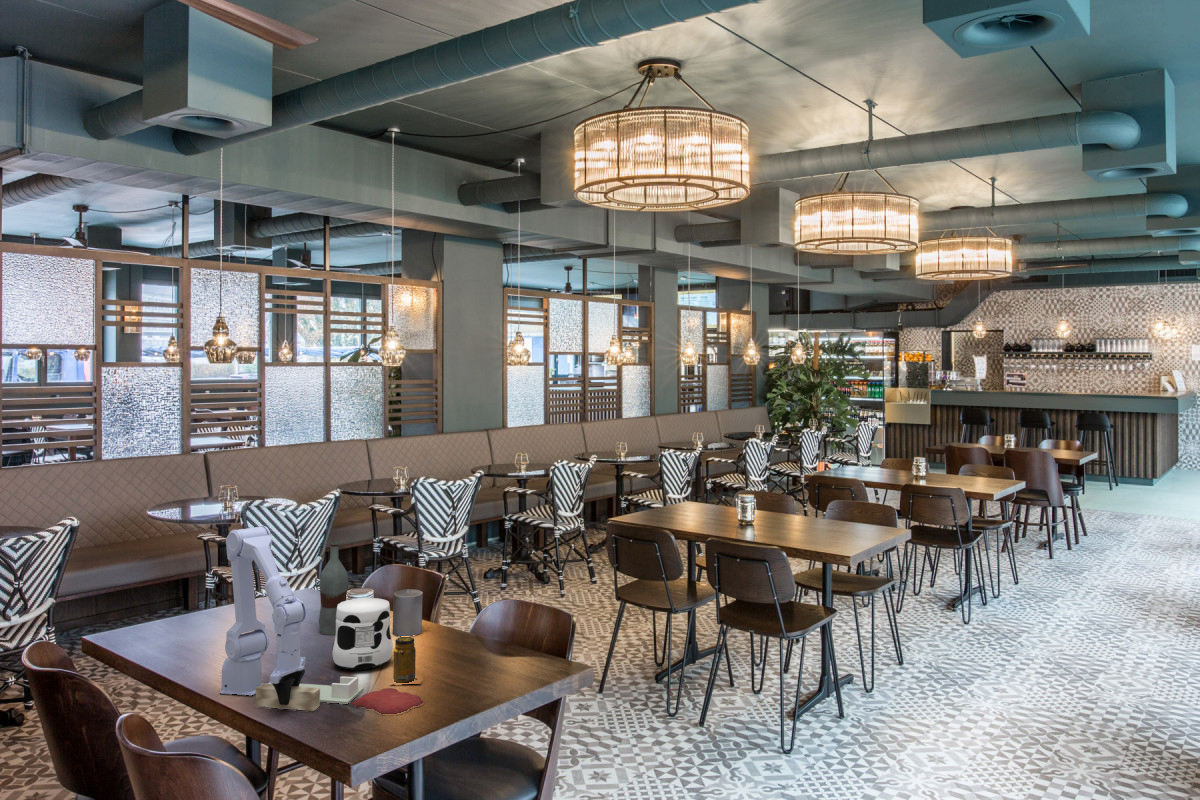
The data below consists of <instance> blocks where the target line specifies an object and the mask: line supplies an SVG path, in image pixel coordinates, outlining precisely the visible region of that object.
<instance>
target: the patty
mask: <svg viewBox="0 0 1200 800" xmlns="http://www.w3.org/2000/svg"><path fill="white" fill-rule="evenodd" d="M421 699H422V697H421V696H419V695H417V694H412V693H410V692H406V691H405V692H404V691H399V690H398V689H396V688H393V687H389V688H388V687H387V688H382V689H380V690H375V691H373V690H372V691H370V692H367V693H364V694H363V695H362V696H361V697H359V698H358V697H357V698H355V699H354V700H353V701H352V702H351V706H352V705H353V706H356V707H365V708H366V709H374V710H375V711H377V712H379V713H381V714H397V713H401V712H404V711H407V710H408V709H410V708H411V707H413V706H418V705H420V704H422V703H423V702H424V700H421ZM353 706H352V707H353ZM375 711H374V712H375Z"/></svg>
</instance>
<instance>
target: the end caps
mask: <svg viewBox="0 0 1200 800" xmlns="http://www.w3.org/2000/svg"><path fill="white" fill-rule="evenodd" d="M266 684H270V685H273V684H272V683H270V681H269V682H267V683H266ZM331 686H332V690H331V697H334V698H348V699H349V698H350V697H351V696H352V695H353V694H355V693H356V692H357V691H358V687H359V677H356V676H355V677H354V676H340V677H339V682H338V683H337V682H332V683H331Z"/></svg>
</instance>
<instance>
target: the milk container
mask: <svg viewBox="0 0 1200 800" xmlns="http://www.w3.org/2000/svg"><path fill="white" fill-rule="evenodd" d="M390 607H391V605H390V601H388V600H386V599H382V598H378V597H377V598H375V597H362V598H359V597H358V598H353V599H346V601H344V602H341V603H339V604H338V606H337V612H336V635H334V640H333V643H332V644H333V645H332V648H331V651H332V659H333V662H334V664H335V665H336V666H338V667H339V668H342V669H345V670H353V671H358V670H361V671H363V670H370V669H375V668H377V667H382V666H383V665H385V664H386V663H388V662H389V661H390V659H391V657H392V655H393V650H394V649H393V648H394V647H393V639H392V635H391V630H390V629H391V627H390V626H391V616H390V615H391V608H390Z"/></svg>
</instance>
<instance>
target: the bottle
mask: <svg viewBox="0 0 1200 800" xmlns="http://www.w3.org/2000/svg"><path fill="white" fill-rule="evenodd" d="M329 551H330V553H329V560H328V562H327V563H326V564H325V566H324V568H323V569H322V571H321V573H320V575H319V598H320V610H319V614H318V627H319V631H320V634H321V633H322V635H324V634H325V636H336V612H337V606H338V604H339V603H341V602H344V601H347V598H346V594H348V587H349V577H348V572H347V569H346V568H345V567H344V565H343V564H342V562H341V560H340V559H339V543H338V542H330V550H329Z"/></svg>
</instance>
